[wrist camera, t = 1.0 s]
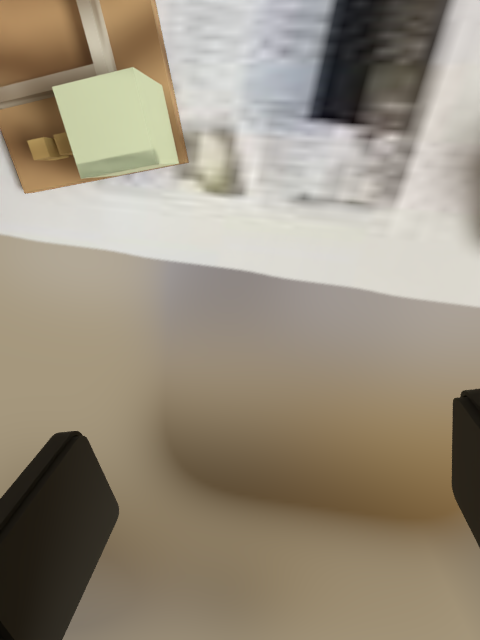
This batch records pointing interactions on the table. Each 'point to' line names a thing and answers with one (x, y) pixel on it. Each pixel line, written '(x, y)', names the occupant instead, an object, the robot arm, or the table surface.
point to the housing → (116, 123)
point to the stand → (70, 75)
